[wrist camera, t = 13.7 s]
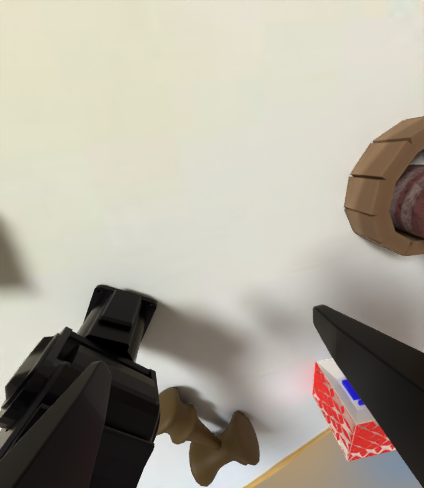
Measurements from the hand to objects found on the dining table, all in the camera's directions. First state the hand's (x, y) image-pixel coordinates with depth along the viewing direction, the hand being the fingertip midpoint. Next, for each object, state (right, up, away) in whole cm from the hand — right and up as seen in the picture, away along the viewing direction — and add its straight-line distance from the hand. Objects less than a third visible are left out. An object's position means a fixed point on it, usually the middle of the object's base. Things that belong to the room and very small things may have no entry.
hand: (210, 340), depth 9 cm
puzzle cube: (+19, -16, +23) cm, 34 cm away
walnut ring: (+19, +10, +12) cm, 25 cm away
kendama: (-1, -23, +24) cm, 33 cm away
